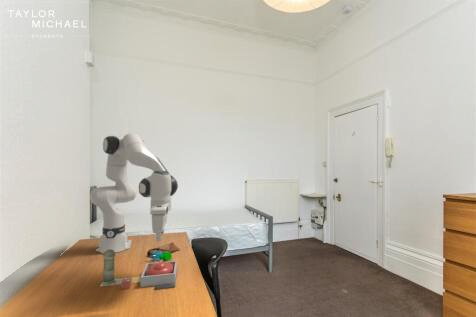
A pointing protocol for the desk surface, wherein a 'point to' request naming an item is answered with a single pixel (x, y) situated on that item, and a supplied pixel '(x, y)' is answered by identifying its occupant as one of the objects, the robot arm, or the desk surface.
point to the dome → (160, 268)
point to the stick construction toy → (161, 256)
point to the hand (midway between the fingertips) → (160, 237)
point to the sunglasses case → (164, 249)
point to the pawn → (108, 267)
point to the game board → (150, 279)
